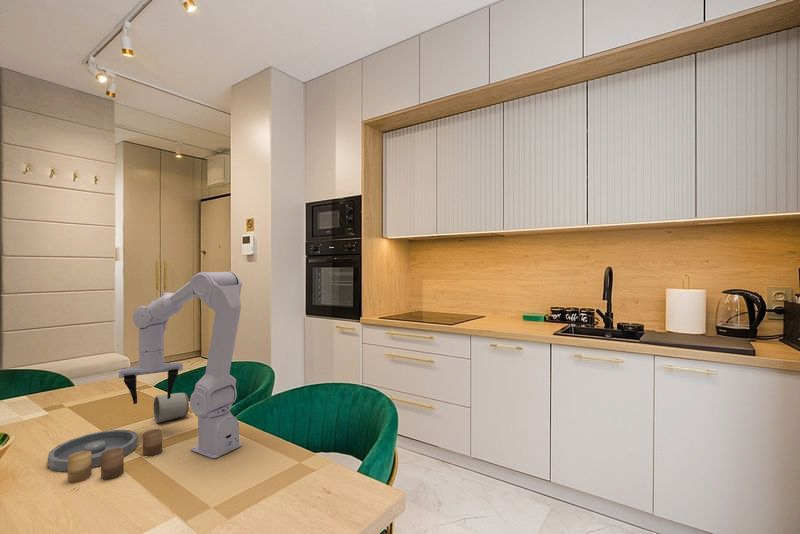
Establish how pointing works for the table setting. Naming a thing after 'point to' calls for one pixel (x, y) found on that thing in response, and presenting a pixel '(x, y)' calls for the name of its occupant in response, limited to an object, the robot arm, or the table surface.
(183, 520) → the table surface
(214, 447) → the robot arm
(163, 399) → the ceramic mug
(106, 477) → the bead
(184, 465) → the table surface
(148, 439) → the bead
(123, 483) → the table surface
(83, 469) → the bead
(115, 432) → the tray
